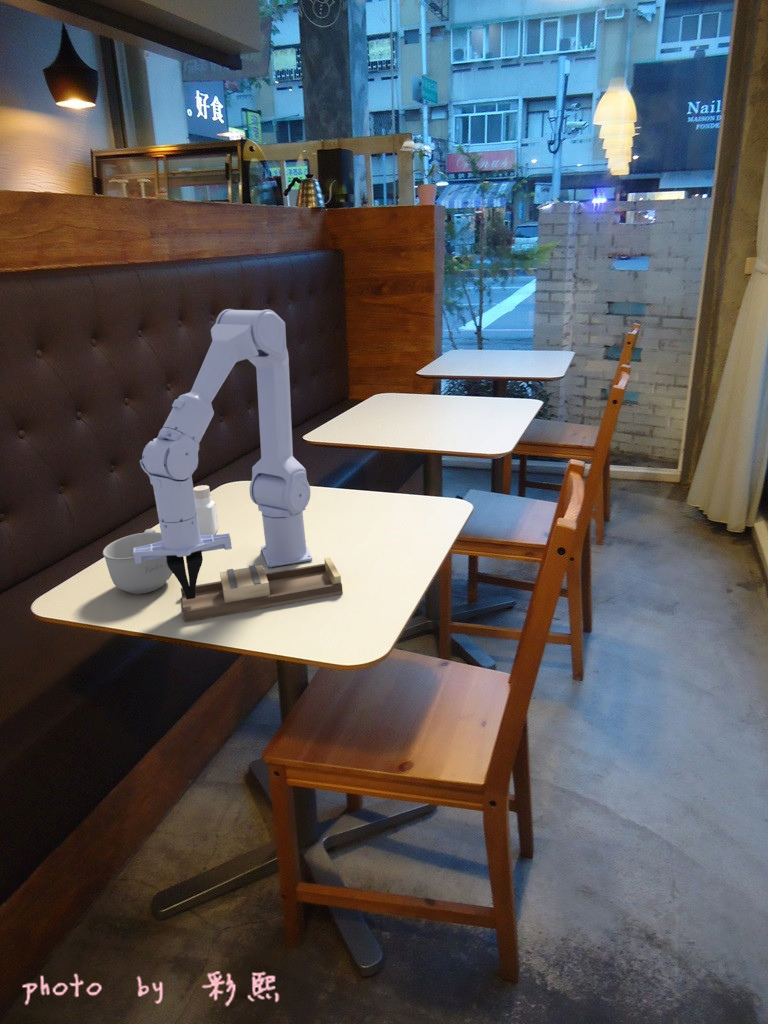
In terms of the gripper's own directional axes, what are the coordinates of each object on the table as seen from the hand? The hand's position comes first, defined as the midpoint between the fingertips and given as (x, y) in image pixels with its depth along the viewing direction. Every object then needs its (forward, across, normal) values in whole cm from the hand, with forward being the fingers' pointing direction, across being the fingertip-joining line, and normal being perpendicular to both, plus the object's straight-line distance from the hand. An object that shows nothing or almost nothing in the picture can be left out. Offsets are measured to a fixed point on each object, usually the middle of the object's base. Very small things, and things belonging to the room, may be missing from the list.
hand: (190, 596), depth 119 cm
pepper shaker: (+2, +5, +32) cm, 32 cm away
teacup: (+2, -7, +13) cm, 15 cm away
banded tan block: (+2, +9, 0) cm, 9 cm away
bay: (+2, +11, 0) cm, 11 cm away
